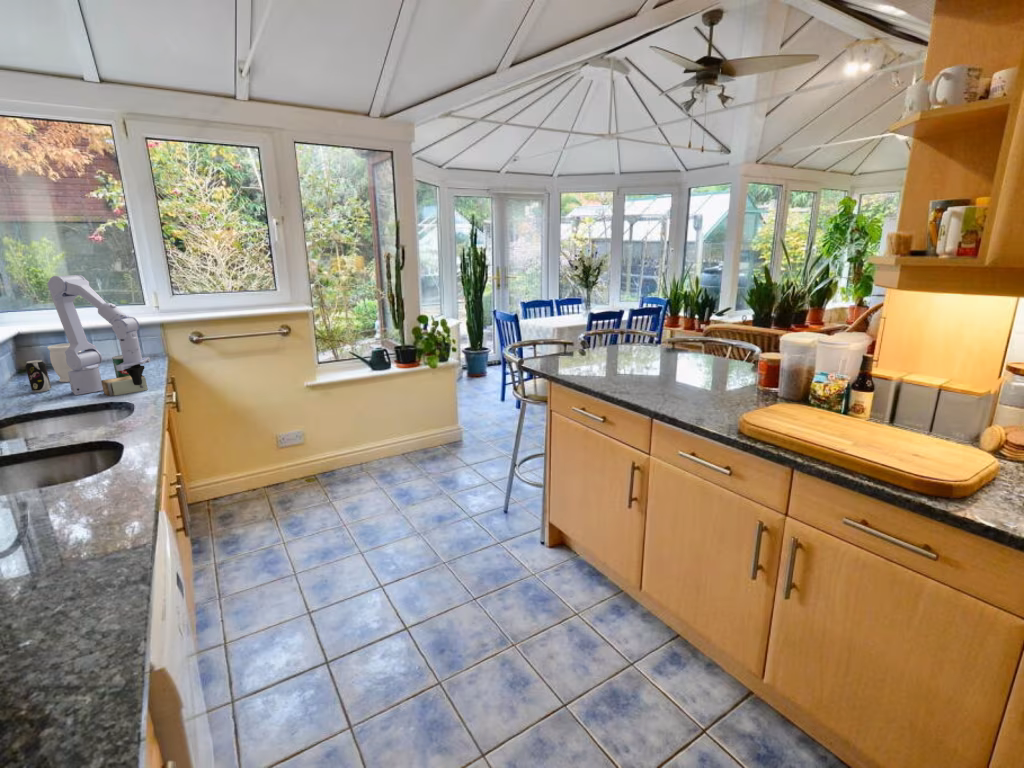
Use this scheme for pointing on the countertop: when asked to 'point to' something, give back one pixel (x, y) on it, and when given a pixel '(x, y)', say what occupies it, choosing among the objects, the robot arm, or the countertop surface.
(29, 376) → the beverage can
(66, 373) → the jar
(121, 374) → the canned tomato
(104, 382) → the cabinet
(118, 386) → the door
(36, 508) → the countertop surface
